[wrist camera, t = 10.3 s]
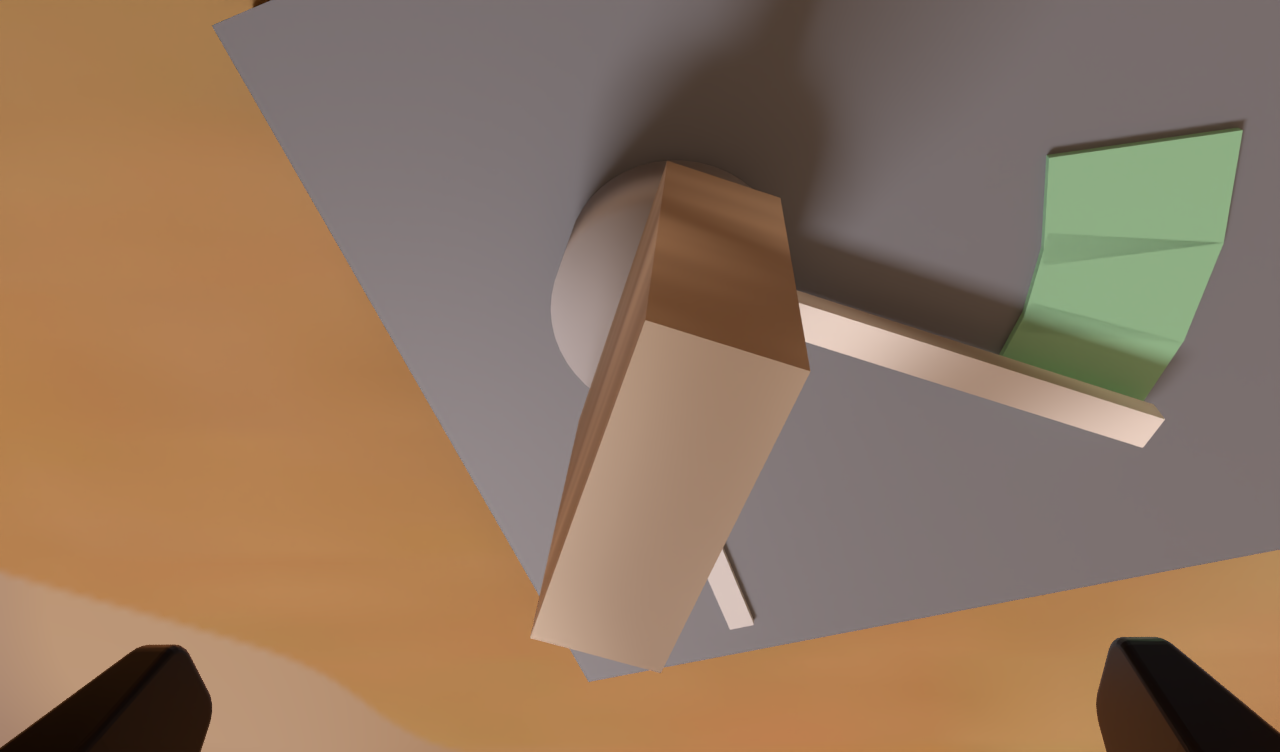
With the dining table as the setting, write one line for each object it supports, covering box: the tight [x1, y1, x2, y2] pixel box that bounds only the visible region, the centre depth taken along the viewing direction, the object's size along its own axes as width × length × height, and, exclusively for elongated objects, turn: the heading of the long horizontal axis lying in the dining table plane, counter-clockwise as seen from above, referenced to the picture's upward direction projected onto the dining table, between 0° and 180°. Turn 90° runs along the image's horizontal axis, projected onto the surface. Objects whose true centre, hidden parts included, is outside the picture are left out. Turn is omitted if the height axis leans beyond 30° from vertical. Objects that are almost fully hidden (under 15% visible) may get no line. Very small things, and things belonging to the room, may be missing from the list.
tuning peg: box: [530, 160, 1165, 673], centre depth 14 cm, size 12×5×7 cm, turn 73°
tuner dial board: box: [212, 0, 1280, 682], centre depth 17 cm, size 17×19×2 cm
